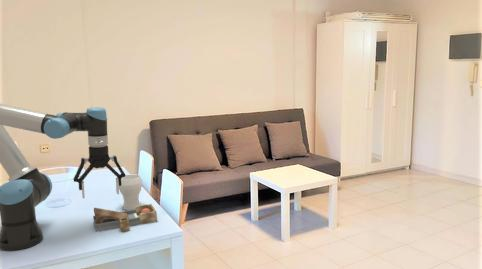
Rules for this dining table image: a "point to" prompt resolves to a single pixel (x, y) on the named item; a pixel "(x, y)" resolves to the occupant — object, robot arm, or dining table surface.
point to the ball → (145, 210)
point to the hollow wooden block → (124, 224)
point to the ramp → (108, 215)
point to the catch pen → (146, 214)
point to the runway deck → (117, 221)
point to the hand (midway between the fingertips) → (100, 195)
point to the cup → (131, 190)
